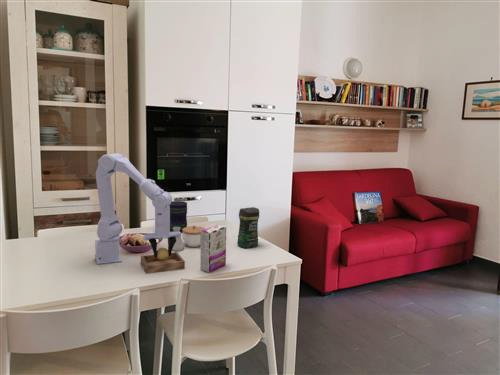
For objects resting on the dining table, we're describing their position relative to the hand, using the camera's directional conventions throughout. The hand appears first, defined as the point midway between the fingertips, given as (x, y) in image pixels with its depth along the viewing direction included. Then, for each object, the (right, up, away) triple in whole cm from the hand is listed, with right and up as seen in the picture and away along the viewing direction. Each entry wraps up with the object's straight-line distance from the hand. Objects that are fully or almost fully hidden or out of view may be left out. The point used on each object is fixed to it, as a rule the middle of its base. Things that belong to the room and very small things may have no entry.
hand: (162, 255), depth 158 cm
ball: (0, -2, 0) cm, 2 cm away
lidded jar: (+9, 0, +28) cm, 29 cm away
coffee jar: (+34, -1, +30) cm, 45 cm away
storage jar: (-3, +4, +51) cm, 51 cm away
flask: (+2, -1, +22) cm, 22 cm away
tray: (0, -4, +1) cm, 4 cm away
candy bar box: (+20, -5, +1) cm, 21 cm away
